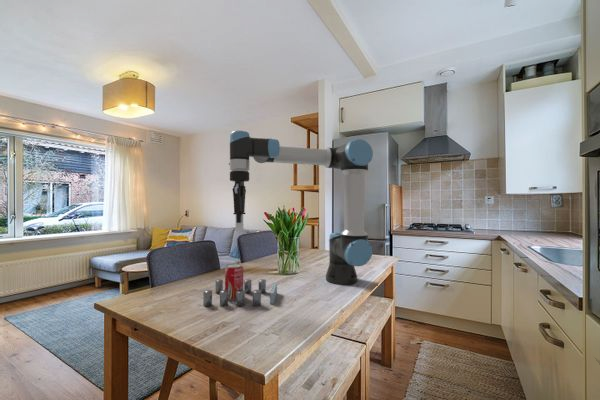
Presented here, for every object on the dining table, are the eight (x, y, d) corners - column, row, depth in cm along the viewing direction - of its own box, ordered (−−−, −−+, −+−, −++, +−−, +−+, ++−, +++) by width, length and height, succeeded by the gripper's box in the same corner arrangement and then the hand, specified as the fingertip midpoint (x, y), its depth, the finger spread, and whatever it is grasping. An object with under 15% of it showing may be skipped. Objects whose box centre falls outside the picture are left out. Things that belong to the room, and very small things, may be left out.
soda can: (245, 295, 109) (245, 263, 109) (240, 302, 102) (240, 267, 102) (228, 294, 110) (228, 262, 110) (221, 301, 103) (222, 267, 103)
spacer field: (266, 291, 114) (266, 279, 114) (260, 306, 97) (260, 292, 97) (216, 291, 114) (216, 279, 114) (202, 306, 97) (202, 292, 97)
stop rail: (276, 293, 112) (276, 283, 112) (274, 304, 100) (274, 293, 100) (273, 293, 112) (273, 283, 112) (269, 304, 100) (270, 293, 100)
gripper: (234, 173, 113) (234, 229, 113) (225, 169, 100) (225, 232, 100) (252, 173, 113) (251, 229, 113) (245, 169, 100) (245, 232, 100)
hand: (239, 230), depth 106 cm, fingers closed
